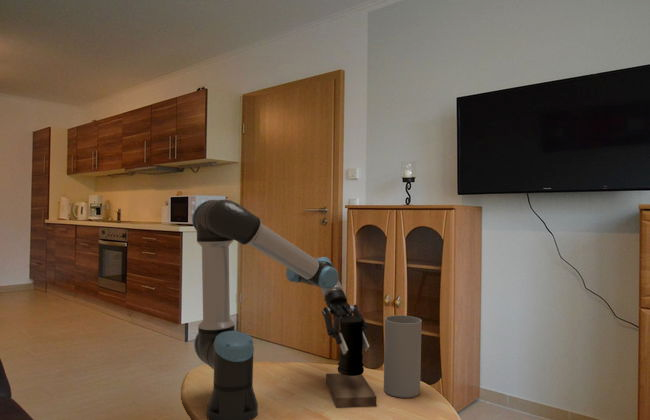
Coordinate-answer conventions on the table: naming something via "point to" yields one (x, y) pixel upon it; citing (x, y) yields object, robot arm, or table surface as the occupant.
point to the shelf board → (350, 391)
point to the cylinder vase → (402, 356)
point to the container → (351, 346)
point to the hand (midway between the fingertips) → (356, 350)
